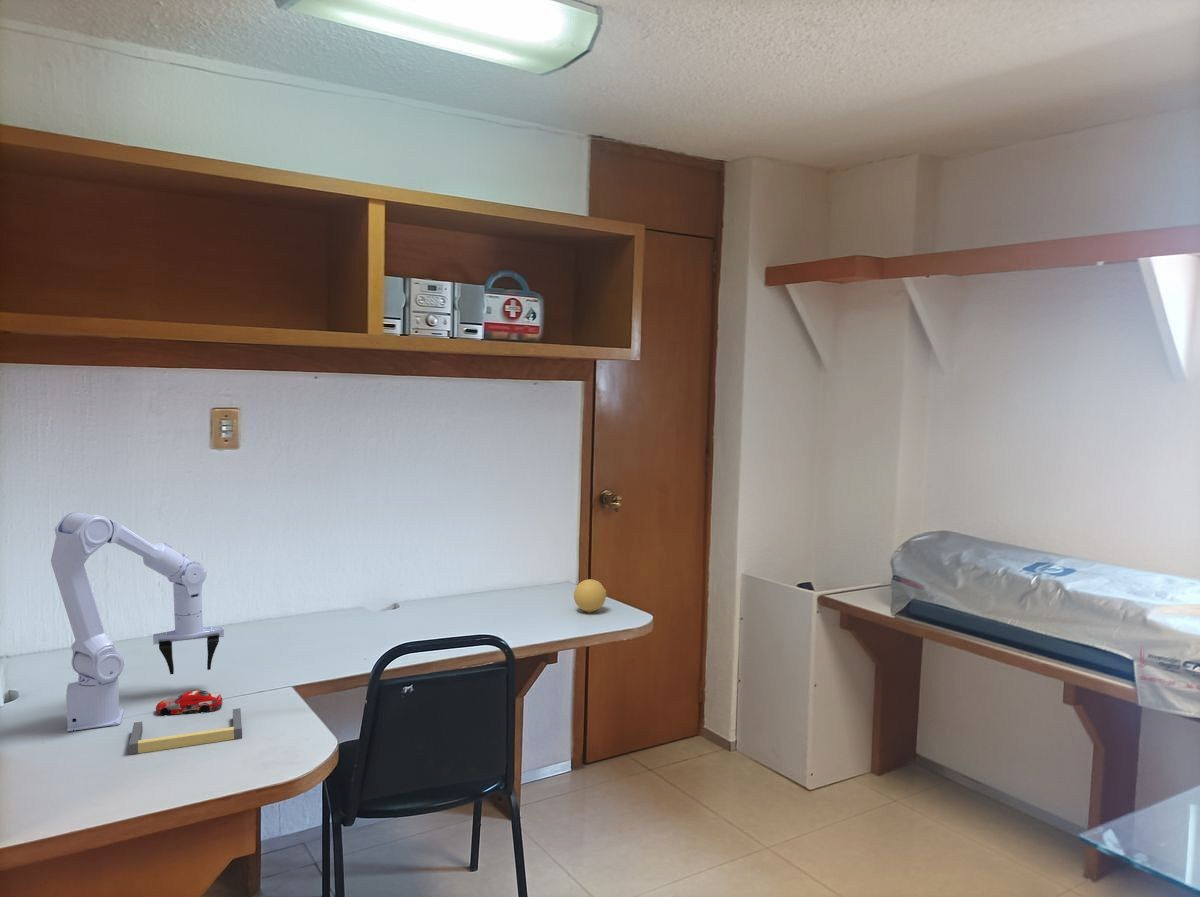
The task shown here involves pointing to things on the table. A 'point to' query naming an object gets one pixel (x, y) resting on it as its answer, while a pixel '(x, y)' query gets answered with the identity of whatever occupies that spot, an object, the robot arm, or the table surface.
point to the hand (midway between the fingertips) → (190, 670)
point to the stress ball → (589, 595)
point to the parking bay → (184, 737)
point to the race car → (190, 703)
